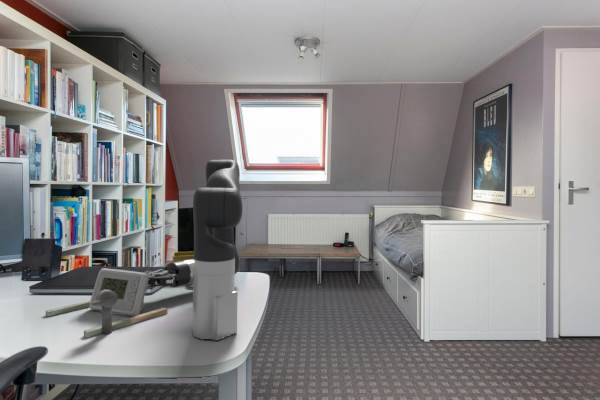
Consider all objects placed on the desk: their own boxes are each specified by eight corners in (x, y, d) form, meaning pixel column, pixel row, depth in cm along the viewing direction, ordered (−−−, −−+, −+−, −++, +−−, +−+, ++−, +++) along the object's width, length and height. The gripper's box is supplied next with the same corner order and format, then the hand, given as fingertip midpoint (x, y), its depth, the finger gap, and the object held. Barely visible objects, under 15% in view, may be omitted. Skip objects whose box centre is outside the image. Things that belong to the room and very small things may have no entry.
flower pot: (172, 275, 136) (173, 251, 135) (197, 274, 138) (197, 251, 138) (172, 281, 127) (172, 256, 127) (198, 280, 130) (198, 255, 130)
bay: (172, 315, 95) (172, 278, 94) (91, 340, 78) (92, 296, 78) (122, 297, 109) (123, 265, 108) (45, 315, 92) (45, 277, 92)
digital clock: (85, 310, 97) (85, 270, 97) (117, 301, 105) (117, 264, 105) (124, 322, 89) (124, 279, 89) (155, 311, 97) (155, 272, 97)
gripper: (171, 257, 117) (117, 266, 103) (198, 263, 109) (144, 273, 95) (171, 281, 117) (117, 292, 103) (197, 288, 109) (143, 302, 95)
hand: (130, 283), depth 99 cm, fingers closed
